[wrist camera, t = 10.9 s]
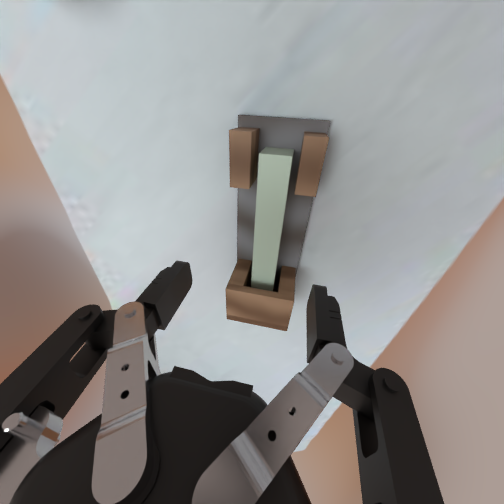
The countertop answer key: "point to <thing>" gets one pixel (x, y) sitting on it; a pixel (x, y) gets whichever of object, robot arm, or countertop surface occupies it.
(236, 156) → the holder
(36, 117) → the countertop surface
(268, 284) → the slat
